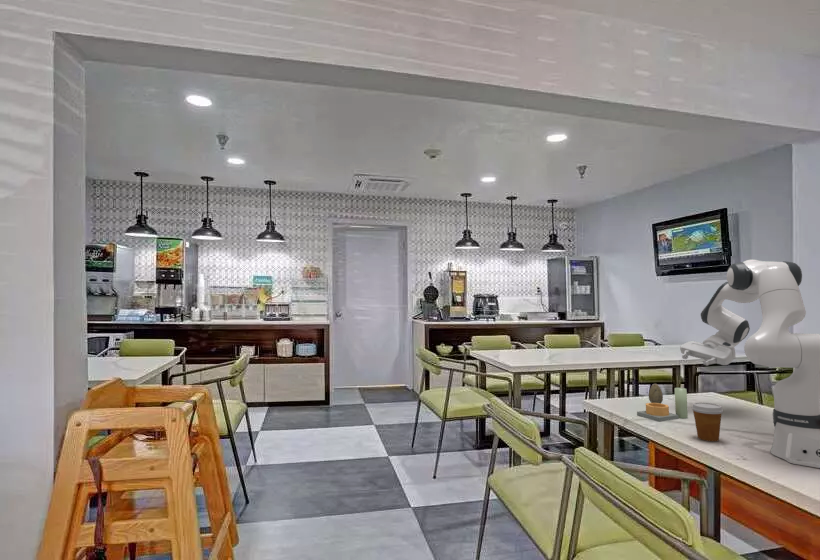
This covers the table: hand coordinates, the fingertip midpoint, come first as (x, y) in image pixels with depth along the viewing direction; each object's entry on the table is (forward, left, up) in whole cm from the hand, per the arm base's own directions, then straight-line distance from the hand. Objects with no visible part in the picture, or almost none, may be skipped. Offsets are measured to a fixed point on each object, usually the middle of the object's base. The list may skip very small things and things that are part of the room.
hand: (694, 360), depth 193 cm
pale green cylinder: (+3, +8, -23) cm, 25 cm away
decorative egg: (+19, -7, -24) cm, 31 cm away
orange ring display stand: (+10, +15, -23) cm, 29 cm away
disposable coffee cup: (-14, +33, -24) cm, 43 cm away
